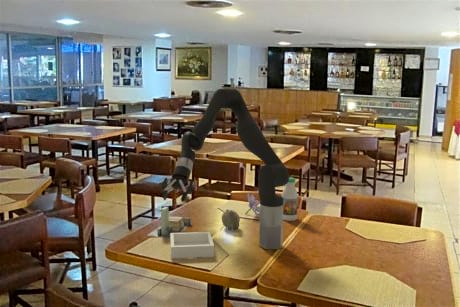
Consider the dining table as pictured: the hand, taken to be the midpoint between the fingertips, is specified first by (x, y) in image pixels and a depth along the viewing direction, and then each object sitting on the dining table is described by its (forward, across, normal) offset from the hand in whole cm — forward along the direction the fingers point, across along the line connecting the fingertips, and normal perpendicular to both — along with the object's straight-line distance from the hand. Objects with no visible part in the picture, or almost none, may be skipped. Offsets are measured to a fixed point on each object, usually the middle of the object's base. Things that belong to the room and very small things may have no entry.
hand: (173, 200), depth 208 cm
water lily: (-14, +29, +33) cm, 46 cm away
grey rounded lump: (+3, +24, +16) cm, 29 cm away
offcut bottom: (+9, 0, +8) cm, 12 cm away
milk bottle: (-14, +46, +33) cm, 58 cm away
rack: (+12, 0, +7) cm, 14 cm away
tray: (+24, +17, -6) cm, 30 cm away
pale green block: (+15, 0, +3) cm, 15 cm away
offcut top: (+8, 0, +7) cm, 10 cm away
